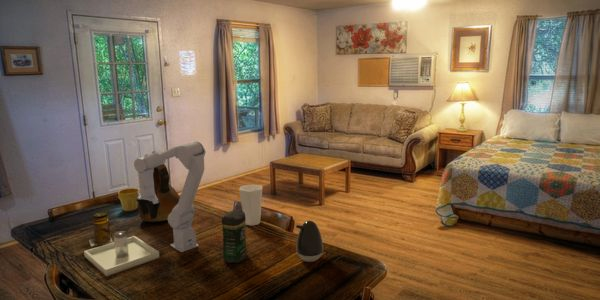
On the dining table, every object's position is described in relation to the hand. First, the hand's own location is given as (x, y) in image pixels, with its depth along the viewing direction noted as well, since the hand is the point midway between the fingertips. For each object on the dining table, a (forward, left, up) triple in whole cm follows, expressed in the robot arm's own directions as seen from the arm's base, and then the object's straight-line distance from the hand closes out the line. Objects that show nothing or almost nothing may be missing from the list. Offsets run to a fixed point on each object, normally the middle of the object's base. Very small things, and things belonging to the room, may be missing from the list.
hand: (149, 216), depth 176 cm
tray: (-8, +16, -10) cm, 21 cm away
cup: (-17, -41, -11) cm, 46 cm away
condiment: (+14, +16, -11) cm, 24 cm away
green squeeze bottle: (-41, -14, -11) cm, 45 cm away
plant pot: (+45, -10, -11) cm, 47 cm away
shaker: (-8, +16, -10) cm, 20 cm away
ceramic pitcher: (+19, -14, -11) cm, 26 cm away
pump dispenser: (-62, -33, -11) cm, 71 cm away
